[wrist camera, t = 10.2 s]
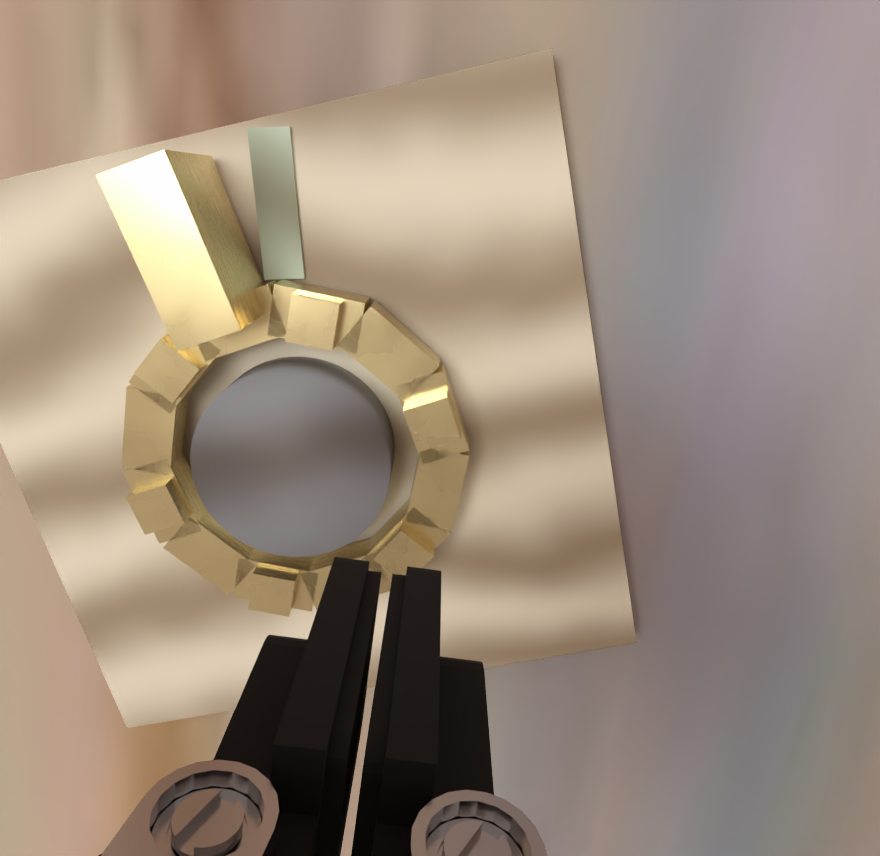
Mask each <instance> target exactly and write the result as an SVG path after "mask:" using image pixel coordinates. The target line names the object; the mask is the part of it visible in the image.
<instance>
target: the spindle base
mask: <svg viewBox="0 0 880 856" xmlns="http://www.w3.org/2000/svg"><path fill="white" fill-rule="evenodd" d="M161 150H171V151H179V152H186V153H193V154H200V155H208V156H212V158H213V160H214V163H215V165H216V168H217V170H218V173H219V175H220V178H221V180H222V183H223V185H224V188H225V190H226V192H227V195H228V197H229V200H230V202H231V205H232V207H233V210H234V212H235V215H236V217H237V220H238V222H239V225H240V227H241V229H242V232H243V234H244V237H245V239H246V242H247V244H248V247H249V249H250V252H251V254H252V257H253V259H254V262H255V264H256V267H257V269H258V271H259V274H260V276H261V279H262V281H263V284H265V283H268V282H271V281H274V280H277V281H278V282H279V281H280V280H282V279H285V280H289V281H294V282H299V283H304V284H308V285H313V286H318V287H323V288H327V289H332V290H337V291H341V292H346V293H351V294H356V295H360V296H365V297H369V303H368V308H369V307H370V305H371V304H372V303H373V302H374V301H376V302H378V303H379V304H380V305H381V306H382V307H383V308H384V309H386V310H387V311H388V312H389V313H390V314H391V315H392V316H394V317H395V318H396V319H397V320H398V321H399V322H400V323H401V324H403V325H404V326H405V327H406V328H407V329H408V330H409V331H411V332H412V333H413V334H414V335H415V336H416V337H417V338H419V339H420V340H421V341H422V342H423V343H424V344H425V345H427V346H428V347H429V348H430V349H431V350H432V351H433V352H435V353H436V354H437V355H438V356H439V357H440V363H442V362H443V363H444V366H445V369H446V372H447V375H448V378H449V381H450V384H451V387H452V390H453V393H454V396H455V399H456V402H457V405H458V408H459V411H460V414H461V417H462V420H463V423H464V426H465V429H466V432H467V435H468V438H469V453H470V457H469V461H468V465H467V469H466V473H465V478H464V482H463V486H462V490H461V494H460V498H459V503H458V507H457V511H456V515H455V519H454V523H453V528H452V531H449V536H448V537H447V538H446V539H445V540H444V541H443V542H442V543H441V544H440V545H439V546H438V547H437V548H436V549H435V550H434V557H433V558H432V559H431V560H430V561H429V562H428V563H427V564H426V565H425V566H424V567H423V568H424V569H432V570H439V571H441V628H440V656H441V657H449V658H457V659H465V660H473V661H481V662H482V663H483V667H484V668H489V667H495V666H501V665H507V664H513V663H519V662H525V661H531V660H537V659H543V658H549V657H555V656H561V655H567V654H573V653H578V652H584V651H590V650H596V649H602V648H608V647H614V646H620V645H626V644H632V643H637V642H636V635H635V628H634V621H633V614H632V607H631V600H630V593H629V586H628V579H627V572H626V565H625V558H624V551H623V544H622V537H621V530H620V523H619V516H618V509H617V502H616V495H615V488H614V481H613V474H612V467H611V460H610V453H609V446H608V439H607V432H606V425H605V418H604V411H603V404H602V397H601V390H600V383H599V376H598V369H597V362H596V355H595V348H594V341H593V334H592V327H591V320H590V313H589V306H588V299H587V292H586V285H585V278H584V271H583V264H582V257H581V250H580V243H579V236H578V229H577V222H576V215H575V208H574V201H573V194H572V187H571V180H570V173H569V166H568V159H567V152H566V145H565V138H564V131H563V124H562V117H561V110H560V103H559V96H558V89H557V82H556V75H555V68H554V61H553V54H552V48H550V49H546V50H542V51H538V52H534V53H529V54H525V55H521V56H517V57H513V58H509V59H504V60H500V61H496V62H492V63H488V64H483V65H479V66H475V67H471V68H467V69H462V70H458V71H454V72H450V73H446V74H441V75H437V76H433V77H429V78H425V79H421V80H416V81H412V82H408V83H404V84H400V85H395V86H391V87H387V88H383V89H379V90H374V91H370V92H366V93H362V94H358V95H353V96H349V97H345V98H341V99H337V100H333V101H328V102H324V103H320V104H316V105H312V106H307V107H303V108H299V109H295V110H291V111H286V112H282V113H278V114H274V115H270V116H265V117H261V118H257V119H253V120H249V121H245V122H240V123H236V124H232V125H228V126H224V127H219V128H215V129H211V130H207V131H203V132H198V133H194V134H190V135H186V136H182V137H177V138H173V139H169V140H165V141H161V142H157V143H152V144H148V145H144V146H140V147H136V148H131V149H127V150H123V151H119V152H115V153H110V154H106V155H102V156H98V157H94V158H89V159H85V160H81V161H77V162H73V163H69V164H64V165H60V166H56V167H52V168H48V169H43V170H39V171H35V172H31V173H27V174H22V175H18V176H14V177H10V178H6V179H1V180H0V443H1V445H2V448H3V450H4V452H5V454H6V457H7V459H8V461H9V463H10V466H11V468H12V470H13V472H14V475H15V477H16V479H17V481H18V484H19V486H20V488H21V490H22V493H23V495H24V497H25V499H26V502H27V504H28V506H29V508H30V511H31V513H32V515H33V517H34V520H35V522H36V524H37V526H38V529H39V531H40V533H41V535H42V538H43V540H44V542H45V544H46V547H47V549H48V551H49V553H50V556H51V558H52V560H53V562H54V565H55V567H56V569H57V571H58V574H59V576H60V578H61V580H62V583H63V585H64V587H65V589H66V592H67V594H68V596H69V598H70V601H71V603H72V605H73V607H74V610H75V612H76V614H77V616H78V619H79V621H80V623H81V625H82V628H83V630H84V632H85V634H86V637H87V639H88V641H89V643H90V646H91V648H92V650H93V652H94V655H95V657H96V659H97V661H98V664H99V666H100V668H101V670H102V672H103V675H104V677H105V679H106V681H107V684H108V686H109V688H110V690H111V693H112V695H113V697H114V699H115V702H116V704H117V706H118V708H119V711H120V713H121V715H122V717H123V720H124V722H125V724H126V726H127V728H130V727H136V726H142V725H148V724H154V723H160V722H166V721H172V720H178V719H184V718H190V717H196V716H202V715H208V714H214V713H220V712H226V711H232V710H235V709H236V706H237V704H238V702H239V699H240V697H241V695H242V692H243V690H244V687H245V685H246V683H247V680H248V678H249V676H250V673H251V671H252V669H253V666H254V664H255V662H256V659H257V657H258V655H259V652H260V650H261V648H262V645H263V643H264V641H265V639H266V637H267V636H268V635H277V636H285V637H293V638H300V639H308V636H309V633H310V630H311V627H312V624H313V621H314V618H315V615H316V612H317V610H316V608H315V606H314V607H313V610H312V612H310V611H305V610H299V609H294V608H292V611H291V614H290V616H289V617H287V616H281V615H276V614H271V613H265V612H260V611H254V610H249V609H248V606H249V600H245V599H240V598H235V597H234V591H235V589H234V590H233V591H232V592H231V593H230V594H229V595H228V594H226V593H225V592H223V591H222V590H221V589H219V588H218V587H217V586H215V585H214V584H212V583H211V582H210V581H208V580H207V579H205V578H204V577H203V576H201V575H200V574H199V573H197V572H196V571H194V570H193V569H192V568H190V567H189V566H187V565H186V564H185V563H183V562H182V561H181V560H179V559H178V558H176V557H175V556H174V555H172V554H171V553H169V552H168V551H167V550H165V549H164V548H163V547H164V546H165V545H166V543H167V542H168V541H167V542H163V543H160V544H159V542H158V540H157V538H156V536H155V534H154V532H153V533H150V534H147V535H145V534H144V532H143V530H142V528H141V526H140V524H139V523H138V521H137V519H136V517H135V515H134V513H133V511H132V509H131V507H130V505H129V503H128V501H127V499H126V496H127V495H129V494H130V493H131V492H132V490H131V488H130V486H129V484H128V482H127V480H126V478H125V476H124V474H123V471H125V470H126V469H127V468H125V467H121V465H122V449H123V433H124V417H125V402H126V387H127V386H129V385H131V384H130V383H129V380H130V379H131V378H132V376H133V375H134V372H135V371H136V369H137V368H138V367H139V366H140V364H141V363H142V362H143V360H144V359H145V358H146V356H147V355H148V354H149V353H150V351H151V350H152V349H153V347H154V346H155V345H156V343H157V342H158V341H159V340H160V339H161V338H162V337H163V336H164V335H165V334H166V332H167V329H166V327H165V325H164V323H163V321H162V319H161V316H160V314H159V312H158V310H157V308H156V306H155V303H154V301H153V299H152V297H151V295H150V292H149V290H148V288H147V286H146V284H145V282H144V279H143V277H142V275H141V273H140V271H139V268H138V266H137V264H136V262H135V260H134V258H133V255H132V253H131V251H130V249H129V247H128V245H127V242H126V240H125V238H124V236H123V234H122V231H121V229H120V227H119V225H118V223H117V221H116V218H115V216H114V214H113V212H112V210H111V207H110V205H109V203H108V201H107V199H106V197H105V194H104V192H103V190H102V188H101V186H100V184H99V181H98V179H97V177H96V175H97V174H100V173H102V172H105V171H108V170H110V169H113V168H116V167H118V166H121V165H124V164H126V163H129V162H132V161H134V160H137V159H140V158H143V157H145V156H148V155H151V154H153V153H156V152H159V151H161ZM184 456H185V458H186V460H187V462H188V464H189V466H190V469H191V471H192V477H193V481H194V484H195V487H196V490H197V492H198V494H199V497H200V499H201V501H202V502H203V504H204V506H205V507H206V509H207V510H208V512H209V513H210V514H211V516H212V517H213V518H214V520H215V521H216V522H217V523H218V524H219V525H220V526H221V527H222V528H223V529H225V530H226V531H227V532H228V533H230V534H231V535H232V536H233V537H235V538H237V539H238V540H240V541H241V542H243V543H245V544H247V545H249V546H251V547H253V548H255V549H258V550H261V551H264V552H266V553H270V554H275V555H279V556H288V557H308V556H316V555H320V554H324V553H328V552H331V551H333V550H336V549H339V548H341V547H343V546H346V545H350V544H353V543H357V542H360V541H364V540H367V539H370V538H371V537H372V536H373V535H374V534H375V533H376V532H377V531H378V530H379V529H380V528H381V527H382V526H383V525H384V524H385V523H386V522H387V521H388V520H389V519H390V518H391V517H392V516H393V515H394V514H395V513H396V512H397V511H398V510H399V509H400V508H401V507H402V506H403V504H404V503H405V502H406V501H407V500H408V499H409V498H410V493H411V488H412V484H413V479H414V474H415V470H416V465H417V460H418V456H419V452H418V451H417V449H416V446H415V443H414V440H413V438H412V435H411V432H410V429H409V427H408V424H407V421H406V418H405V416H404V413H403V408H402V405H401V402H400V399H399V397H398V395H397V394H396V393H394V392H393V391H392V390H391V389H390V388H388V387H387V386H386V385H385V384H384V383H383V382H381V381H380V380H379V379H378V378H377V377H376V376H374V375H373V374H372V373H371V372H370V371H368V370H367V369H366V368H365V367H364V366H363V365H361V364H360V363H359V362H358V361H357V360H355V359H354V358H353V357H352V356H351V355H350V354H348V353H347V352H346V351H341V350H336V349H333V351H328V350H323V349H319V348H314V347H309V346H304V345H299V344H294V343H289V342H285V339H283V338H275V339H272V340H269V341H265V342H262V343H259V344H256V345H253V346H250V347H247V348H244V349H241V350H238V351H235V352H232V353H229V354H226V355H223V356H221V357H220V358H219V360H218V361H217V362H216V363H215V365H214V366H213V367H212V368H211V370H210V371H209V372H208V373H207V375H206V376H205V377H204V378H203V380H202V381H201V382H200V383H199V385H198V386H197V387H196V388H195V389H194V391H193V392H192V393H191V394H190V396H189V402H188V413H187V423H186V434H185V445H184ZM389 594H390V591H389V592H385V593H382V594H379V597H378V605H377V613H376V620H375V628H374V636H373V643H372V651H371V659H370V666H369V674H368V682H367V688H369V687H375V685H376V679H377V672H378V666H379V659H380V652H381V646H382V639H383V633H384V626H385V620H386V613H387V607H388V600H389Z"/></svg>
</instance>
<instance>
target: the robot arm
mask: <svg viewBox="0 0 880 856" xmlns="http://www.w3.org/2000/svg"><path fill="white" fill-rule="evenodd" d="M381 573H382V572H376V571H369V561H363V560H356V559H348V558H340V557H335V558H334V560H333V563H332V566H331V569H330V572H329V575H328V579H327V582H326V585H325V588H324V591H323V594H322V597H321V600H320V603H319V606H318V609H317V612H316V615H315V618H314V621H313V624H312V627H311V630H310V633H309V636H308V639H300V638H293V637H285V636H277V635H268V636H267V637H266V639H265V641H264V643H263V645H262V648H261V650H260V652H259V655H258V657H257V659H256V662H255V664H254V666H253V669H252V671H251V673H250V676H249V678H248V680H247V683H246V685H245V687H244V690H243V692H242V695H241V697H240V699H239V702H238V704H237V706H236V709H235V711H234V713H233V716H232V718H231V720H230V723H229V725H228V727H227V730H226V732H225V734H224V737H223V739H222V741H221V744H220V746H219V748H218V751H217V753H216V755H215V758H214V760H211V761H203V762H196V763H194V764H191V765H188V766H185V767H182V768H179V769H177V770H175V771H174V772H172V773H170V774H169V775H167V776H166V777H164V778H162V779H161V780H159V781H158V782H157V783H156V784H155V785H154V786H153V787H152V788H151V789H150V790H149V791H148V792H147V793H146V794H145V796H144V797H143V798H142V799H141V801H140V802H139V804H138V805H137V806H136V808H135V809H134V811H133V812H132V813H131V815H130V816H129V817H128V819H127V820H126V822H125V823H124V824H123V826H122V827H121V829H120V830H119V831H118V833H117V834H116V835H115V837H114V838H113V840H112V841H111V842H110V844H109V845H108V847H107V848H106V849H105V851H104V852H103V853H102V854H101V855H99V856H340V853H341V847H342V841H343V835H344V829H345V823H346V817H347V811H348V805H349V799H350V793H351V787H352V781H353V776H354V770H355V764H356V758H357V752H358V746H359V740H360V733H361V727H362V720H363V713H364V705H365V697H366V689H367V682H368V674H369V666H370V659H371V651H372V643H373V636H374V628H375V620H376V613H377V605H378V597H379V590H380V582H381ZM440 628H441V571H439V570H432V569H424V568H416V567H409V566H407V572H406V575H399V574H392V581H391V587H390V594H389V600H388V607H387V613H386V620H385V626H384V633H383V639H382V646H381V652H380V659H379V666H378V672H377V679H376V685H375V692H374V698H373V705H372V711H371V718H370V724H369V731H368V738H367V744H366V751H365V758H364V765H363V772H362V780H361V787H360V795H359V802H358V810H357V817H356V824H355V832H354V839H353V847H352V854H351V856H547V853H546V850H545V846H544V843H543V841H542V839H541V837H540V835H539V833H538V831H537V829H536V827H535V826H534V824H533V823H532V822H531V821H530V820H529V819H528V818H527V817H526V815H525V814H524V813H523V812H522V811H521V810H519V809H518V808H517V807H515V806H514V805H512V804H511V803H509V802H508V801H506V800H505V799H502V798H500V797H497V796H495V795H494V791H493V778H492V766H491V753H490V740H489V727H488V714H487V702H486V689H485V676H484V667H483V663H482V662H481V661H473V660H465V659H457V658H449V657H441V656H440Z"/></svg>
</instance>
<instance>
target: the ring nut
mask: <svg viewBox="0 0 880 856" xmlns="http://www.w3.org/2000/svg"><path fill="white" fill-rule="evenodd" d="M96 177H97V179H98V181H99V184H100V186H101V188H102V190H103V192H104V194H105V197H106V199H107V201H108V203H109V205H110V207H111V210H112V212H113V214H114V216H115V218H116V221H117V223H118V225H119V227H120V229H121V231H122V234H123V236H124V238H125V240H126V242H127V245H128V247H129V249H130V251H131V253H132V255H133V258H134V260H135V262H136V264H137V266H138V268H139V271H140V273H141V275H142V277H143V279H144V282H145V284H146V286H147V288H148V290H149V292H150V295H151V297H152V299H153V301H154V303H155V306H156V308H157V310H158V312H159V314H160V316H161V319H162V321H163V323H164V325H165V327H166V329H167V332H166V334H165V335H164V336H163V337H162V338H161V339H160V340H159V341H158V342H157V343H156V345H155V346H154V347H153V349H152V350H151V351H150V353H149V354H148V355H147V356H146V358H145V359H144V360H143V362H142V363H141V364H140V366H139V367H138V368H137V369H136V371H135V372H134V375H133V376H132V378H131V379H130V380H129V383H130V384H131V385H129V386H127V387H126V402H125V417H124V433H123V449H122V465H121V467H125V468H127V469H126V470H125V471H123V474H124V476H125V478H126V480H127V482H128V484H129V486H130V488H131V490H132V492H131V493H130V494H129V495H127V496H126V499H127V501H128V503H129V505H130V507H131V509H132V511H133V513H134V515H135V517H136V519H137V521H138V523H139V524H140V526H141V528H142V530H143V532H144V534H145V535H147V534H150V533H153V532H154V534H155V536H156V538H157V540H158V542H159V544H160V543H163V542H167V541H168V542H167V543H166V545H165V546H164V547H163V548H164V549H165V550H167V551H168V552H169V553H171V554H172V555H174V556H175V557H176V558H178V559H179V560H181V561H182V562H183V563H185V564H186V565H187V566H189V567H190V568H192V569H193V570H194V571H196V572H197V573H199V574H200V575H201V576H203V577H204V578H205V579H207V580H208V581H210V582H211V583H212V584H214V585H215V586H217V587H218V588H219V589H221V590H222V591H223V592H225V593H226V594H228V595H229V594H230V593H231V592H232V591H233V590H234V589H235V591H234V597H235V598H240V599H245V600H249V606H248V609H249V610H254V611H260V612H265V613H271V614H276V615H281V616H287V617H289V616H290V614H291V611H292V608H294V609H299V610H305V611H310V612H312V610H313V607H314V606H315V608H316V610H317V609H318V606H319V603H320V600H321V597H322V594H323V591H324V588H325V585H326V582H327V579H328V575H329V572H330V569H331V566H332V563H333V560H334V558H335V557H340V558H348V559H356V560H363V561H369V571H376V572H382V573H381V582H380V590H379V594H382V593H385V592H389V591H390V587H391V581H392V574H399V575H406V572H407V566H409V567H416V568H423V567H424V566H425V565H426V564H427V563H428V562H429V561H430V560H431V559H432V558H433V557H434V550H435V549H436V548H437V547H438V546H439V545H440V544H441V543H442V542H443V541H444V540H445V539H446V538H447V537H448V536H449V531H452V528H453V523H454V519H455V515H456V511H457V507H458V503H459V498H460V494H461V490H462V486H463V482H464V478H465V473H466V469H467V465H468V461H469V457H470V453H469V438H468V435H467V432H466V429H465V426H464V423H463V420H462V417H461V414H460V411H459V408H458V405H457V402H456V399H455V396H454V393H453V390H452V387H451V384H450V381H449V378H448V375H447V372H446V369H445V366H444V363H443V362H442V363H440V357H439V356H438V355H437V354H436V353H435V352H433V351H432V350H431V349H430V348H429V347H428V346H427V345H425V344H424V343H423V342H422V341H421V340H420V339H419V338H417V337H416V336H415V335H414V334H413V333H412V332H411V331H409V330H408V329H407V328H406V327H405V326H404V325H403V324H401V323H400V322H399V321H398V320H397V319H396V318H395V317H394V316H392V315H391V314H390V313H389V312H388V311H387V310H386V309H384V308H383V307H382V306H381V305H380V304H379V303H378V302H376V301H374V302H373V303H372V304H371V305H370V307H369V308H368V303H369V297H365V296H360V295H356V294H351V293H346V292H341V291H337V290H332V289H327V288H323V287H318V286H313V285H308V284H304V283H299V282H294V281H289V280H285V279H282V280H280V281H279V282H278V281H277V280H274V281H271V282H268V283H265V284H263V281H262V279H261V276H260V274H259V271H258V269H257V267H256V264H255V262H254V259H253V257H252V254H251V252H250V249H249V247H248V244H247V242H246V239H245V237H244V234H243V232H242V229H241V227H240V225H239V222H238V220H237V217H236V215H235V212H234V210H233V207H232V205H231V202H230V200H229V197H228V195H227V192H226V190H225V188H224V185H223V183H222V180H221V178H220V175H219V173H218V170H217V168H216V165H215V163H214V160H213V158H212V156H208V155H200V154H193V153H186V152H179V151H171V150H161V151H159V152H156V153H153V154H151V155H148V156H145V157H143V158H140V159H137V160H134V161H132V162H129V163H126V164H124V165H121V166H118V167H116V168H113V169H110V170H108V171H105V172H102V173H100V174H97V175H96ZM275 338H283V339H285V342H289V343H294V344H299V345H304V346H309V347H314V348H319V349H323V350H328V351H333V349H336V350H341V351H346V352H347V353H348V354H350V355H351V356H352V357H353V358H354V359H355V360H357V361H358V362H359V363H360V364H361V365H363V366H364V367H365V368H366V369H367V370H368V371H370V372H371V373H372V374H373V375H374V376H376V377H377V378H378V379H379V380H380V381H381V382H383V383H384V384H385V385H386V386H387V387H388V388H390V389H391V390H392V391H393V392H394V393H396V394H397V395H398V397H399V399H400V402H401V405H402V408H403V413H404V416H405V418H406V421H407V424H408V427H409V429H410V432H411V435H412V438H413V440H414V443H415V446H416V449H417V451H418V452H419V456H418V460H417V465H416V470H415V474H414V479H413V484H412V488H411V493H410V498H409V499H408V500H407V501H406V502H405V503H404V504H403V506H402V507H401V508H400V509H399V510H398V511H397V512H396V513H395V514H394V515H393V516H392V517H391V518H390V519H389V520H388V521H387V522H386V523H385V524H384V525H383V526H382V527H381V528H380V529H379V530H378V531H377V532H376V533H375V534H374V535H373V536H372V537H371V538H370V539H367V540H364V541H360V542H357V543H353V544H350V545H346V546H343V547H341V548H339V549H336V550H333V551H331V552H328V553H324V554H320V555H316V556H308V557H288V556H279V555H275V554H270V553H266V552H264V551H261V550H258V549H255V548H253V547H251V546H249V545H247V544H245V543H243V542H241V541H240V540H238V539H237V538H235V537H233V536H232V535H231V534H230V533H228V532H227V531H226V530H225V529H223V528H222V527H221V526H220V525H219V524H218V523H217V522H216V521H215V520H214V518H213V517H212V516H211V514H210V513H209V512H208V510H207V509H206V507H205V506H204V504H203V502H202V501H201V499H200V497H199V494H198V492H197V490H196V487H195V484H194V481H193V477H192V471H191V469H190V466H189V464H188V462H187V460H186V458H185V456H184V445H185V434H186V423H187V413H188V402H189V396H190V394H191V393H192V392H193V391H194V389H195V388H196V387H197V386H198V385H199V383H200V382H201V381H202V380H203V378H204V377H205V376H206V375H207V373H208V372H209V371H210V370H211V368H212V367H213V366H214V365H215V363H216V362H217V361H218V360H219V358H220V357H221V356H223V355H226V354H229V353H232V352H235V351H238V350H241V349H244V348H247V347H250V346H253V345H256V344H259V343H262V342H265V341H269V340H272V339H275Z"/></svg>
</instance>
